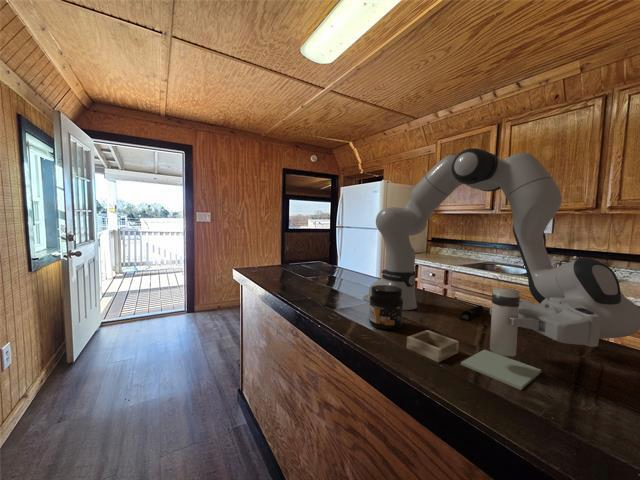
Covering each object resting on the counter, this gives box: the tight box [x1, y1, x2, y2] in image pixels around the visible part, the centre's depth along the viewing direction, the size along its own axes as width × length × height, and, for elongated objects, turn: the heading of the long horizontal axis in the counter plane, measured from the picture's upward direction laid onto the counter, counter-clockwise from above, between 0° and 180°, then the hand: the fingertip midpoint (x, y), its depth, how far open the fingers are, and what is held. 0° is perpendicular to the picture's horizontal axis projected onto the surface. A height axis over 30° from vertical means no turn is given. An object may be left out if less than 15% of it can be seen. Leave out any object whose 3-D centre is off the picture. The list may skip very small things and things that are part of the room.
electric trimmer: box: [459, 305, 484, 322], centre depth 101 cm, size 4×16×3 cm, turn 132°
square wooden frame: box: [406, 329, 460, 363], centre depth 72 cm, size 9×9×3 cm
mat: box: [460, 349, 542, 391], centre depth 64 cm, size 12×12×1 cm
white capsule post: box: [489, 287, 521, 357], centre depth 63 cm, size 5×5×14 cm
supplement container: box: [368, 285, 404, 331], centre depth 89 cm, size 10×10×12 cm
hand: (500, 316), depth 63 cm, fingers closed on white capsule post, 5 cm apart
